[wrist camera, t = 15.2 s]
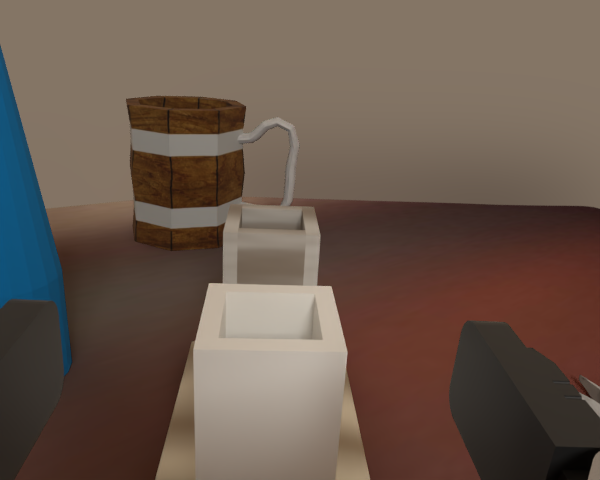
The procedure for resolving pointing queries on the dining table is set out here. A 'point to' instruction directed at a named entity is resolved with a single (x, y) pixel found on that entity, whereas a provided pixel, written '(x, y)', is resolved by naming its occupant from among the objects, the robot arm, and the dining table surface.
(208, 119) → the mug
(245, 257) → the peg socket fixture
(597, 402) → the pliers
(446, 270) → the dining table surface
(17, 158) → the bottle
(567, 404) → the robot arm
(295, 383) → the sleeve
